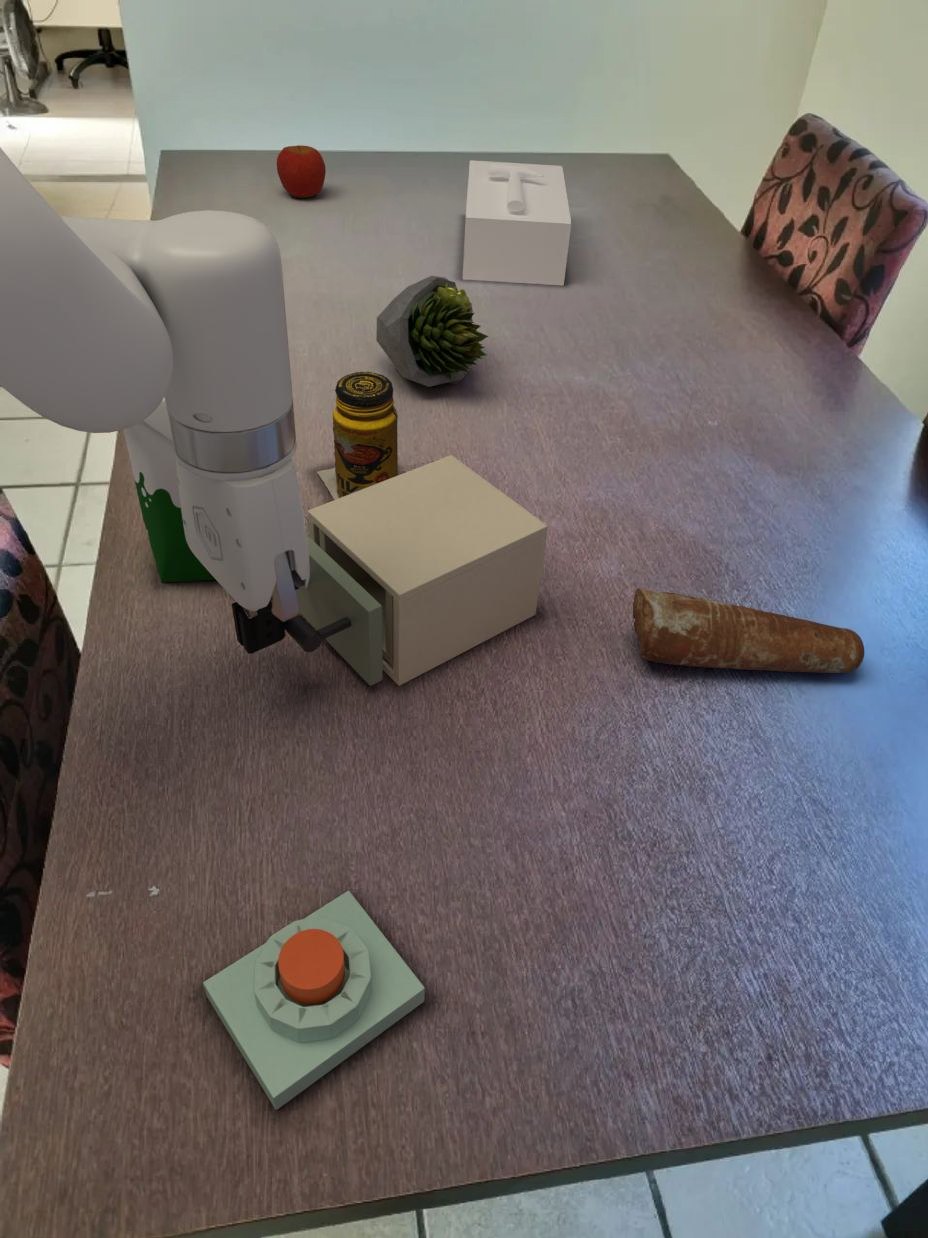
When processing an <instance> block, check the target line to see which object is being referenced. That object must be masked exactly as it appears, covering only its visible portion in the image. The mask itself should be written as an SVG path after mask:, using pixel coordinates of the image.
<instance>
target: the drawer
mask: <svg viewBox="0 0 928 1238" xmlns="http://www.w3.org/2000/svg"><path fill="white" fill-rule="evenodd" d="M319 534H320V547H319V546H318V545H317V544H316V543H315V542H314V541H313V540H312V539H311V538H310V537H309V535H307V540H308V549H309V563H310V577H309V583H308V586H307V588H306V589H305V590H302V589H300V588H298V587H297V586H296V585H295V584H294V588H295V592H296V596H297V601H298V605H299V610H300V615H298V616H296V617H293V618H291V619H289V620H287V621H284V626H285V632H286V633H287V634H288V635H289V636H290V637H291V638H292V639H293V640H294V641H295V642H296V643H297V645H298V646H299V647H300V648H301V649H302V650H303V651H304V652H306V653H312V652H314V651H316V650H318V649H319V648H320V646H321V645H322V643H323V640H325V641H326V642H327V643H328V644H329V645H330V646H331V647H332V648H333V649H334V650H335V651H336V652H337V653H338V654H339V656H341V658H343V660H345V661H346V663H347V664H349V666H351V668H352V669H353V670H354V671H355V672H356V673H357V674H358V675H359V676H360V677H361V678H362V679H363V680H364V681H365V682H366V683H367V685H368V686H370V687H372V686H373V685H376V684H378V683H379V682H382V681H383V680H384V676H383V675H384V674H383V673H384V670H383V662H382V656H383V657H384V658H385V659H386V660H387V661H388V662H389V663H390V664H393V598H394V597H393V596H392V595H391V594H390V593H389V592H387V591H386V590H385V589H384V588H383V587H382V586H381V585H380V584H379V583H378V582H377V581H376V580H374V579H373V578H372V577H371V576H370V575H369V574H368V573H367V572H366V571H365V570H364V569H363V568H362V567H360V566H359V565H358V564H357V563H356V562H355V561H354V560H353V559H352V558H351V557H350V556H349V555H347V554H346V553H345V552H344V551H343V550H342V549H341V548H340V547H339V546H338V545H337V544H336V543H334V542H333V541H332V540H331V539H330V538H329V537H328V536H327V535H326V534H325V533H324V532H323V531H321V530H320V529H319Z"/></svg>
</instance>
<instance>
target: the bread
mask: <svg viewBox="0 0 928 1238" xmlns="http://www.w3.org/2000/svg"><path fill="white" fill-rule="evenodd" d="M632 618H633V619H634V622H633V629H634V631H635V632H636V634H637V637H638V640H639V651H640V652H639V653H640V654H639V655H640V658H642V659H643V660H646V661H649V662H654V663H658V664H659V663H660V664H666V665H673V666H685V667H695V668H696V667H697V668H709V669H710V668H712V669H716V668H717V669H736V670H748V671H749V670H750V671H753V670H754V671H772V672H773V671H774V672H791V673H817V674H849V673H854V671H857V669H859V668H860V667H861V665H862V663H863V661H864V658H865V645H864V642H863V640H862V638H861V636H860V635H859V634H858V633H857V632H856V631H854V630H853V629H851V628H847V627H839V626H834V625H829V624H825V623H821V622H816V621H812V620H807V619H804V618H798V617H794V616H788V615H785V614H778V613H775V612H770V611H764V610H759V609H756V608H753V607H747V606H743V605H737V604H736V605H735V604H732V603H731V604H730V603H726V602H722V601H717V600H711V599H706V598H701V597H696V596H691V595H685V594H681V593H675V592H668V591H657V590H651V589H647V588H640V587H639V588H636V590H635V593H634V597H633V602H632Z"/></svg>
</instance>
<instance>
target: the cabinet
mask: <svg viewBox="0 0 928 1238" xmlns="http://www.w3.org/2000/svg"><path fill="white" fill-rule="evenodd" d="M307 518H308V519H307V522H308V523H307V524H308V536H309V537H310V538H311V539H312V540H313V541H314V542H315V543H316V544H317V545H318V546H319V547H320V534H319V529H320V530H321V531H323V532H324V533H325V534H326V535H327V536H328V537H329V538H330V539H331V540H332V541H333V542H334V543H336V544H337V545H338V546H339V547H340V548H341V549H342V550H343V551H344V552H345V553H346V554H347V555H349V556H350V557H351V558H352V559H353V560H354V561H355V562H356V563H357V564H358V565H359V566H360V567H362V568H363V569H364V570H365V571H366V572H367V573H368V574H369V575H370V576H371V577H372V578H373V579H374V580H376V581H377V582H378V583H379V584H380V585H381V586H382V587H383V588H384V589H385V590H386V591H387V592H389V593H390V594H391V595H392V596H393V597H394V598H393V664H390V663H389V662H388V661H387V660H386V659H385V658H384V657H383V656H382V662H383V672H384V673H385V674H387V676H388V677H389V678H390V679H391V680H392V681H393V682H394V683H395V684H396V685H397V686H399V687H400V686H402V685H404V684H406V683H407V682H410V681H411V680H413V679H416V678H417V677H419V676H421V675H424V674H425V673H427V672H429V671H431V670H433V669H435V668H436V667H439V666H440V665H442V664H444V663H447V662H448V661H450V660H452V659H454V658H456V657H458V656H459V655H461V654H463V653H465V652H467V651H469V650H471V649H473V648H474V647H477V646H478V645H480V644H482V643H485V642H486V641H489V640H490V639H492V638H493V637H496V636H498V635H499V634H501V633H503V632H505V631H507V630H509V629H511V628H513V627H515V626H517V625H518V624H521V623H522V622H524V621H526V620H528V619H530V618H532V617H534V616H536V615H537V608H538V603H539V602H538V601H539V594H540V586H541V579H542V573H543V565H544V557H545V550H546V543H547V537H548V536H547V535H548V525H547V524H546V523H545V522H543V521H542V520H541V519H540V518H538V517H537V516H535V515H534V514H532V513H531V512H529V511H528V510H527V509H525V507H523V506H521V505H520V504H519V503H517V502H516V501H515V500H513V498H511V497H509V496H508V495H507V494H505V493H504V492H503V491H501V490H500V489H498V488H497V487H496V486H494V485H493V484H491V483H490V482H489V481H488V480H486V479H484V478H483V477H482V476H481V475H479V474H478V473H477V472H475V471H474V470H472V468H470V467H469V466H467V465H466V464H465V463H463V462H461V460H459V459H458V458H456V457H455V456H454V455H452V454H449V455H447V456H445V457H442V458H439V459H437V460H435V461H432V462H429V463H426V464H423V465H421V466H419V467H416V468H414V469H411V470H409V471H406V472H403V473H401V474H398V476H395V477H393V478H390V479H388V480H385V481H383V482H380V483H377V484H375V485H372V486H370V487H367V488H365V489H362V490H359V491H357V492H354V493H352V494H349V495H346V496H344V497H341V498H339V499H336V500H334V499H333V500H332V501H329V502H326V503H324V504H321V505H318V506H316V507H313V508H311V509H308V510H307Z"/></svg>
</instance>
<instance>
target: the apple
mask: <svg viewBox="0 0 928 1238" xmlns="http://www.w3.org/2000/svg"><path fill="white" fill-rule="evenodd" d="M276 170H277V175H278V178H279V181H280V183H281V185H282V187H283V189H284V190H285V192H286V193H288V194H289V195H290V196H291V197H294V198H297V199H307V198H312V197H315V196H316V195H318V194H319V193H320V192H321V191H322V188H323V187H324V183H325V179H326V174H327V169H326V164H325V161H324V158H323V156H322V154H321V153H320V152H319V150H317V149H316V148H315V147H312V146H309V145H301V144H299V145H298V144H297V145H289V146H285V147H283V148H282V149H281V150H280V152H279V153H278V155H277V158H276Z"/></svg>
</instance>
